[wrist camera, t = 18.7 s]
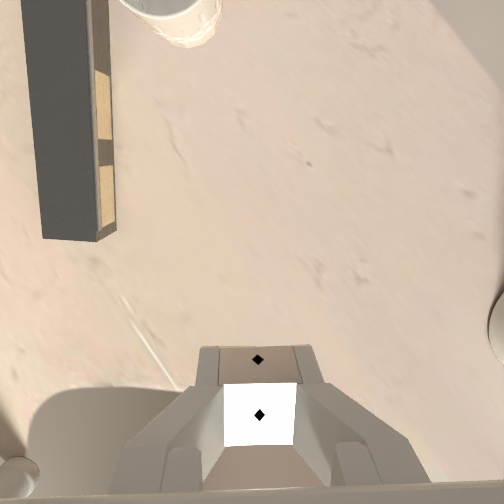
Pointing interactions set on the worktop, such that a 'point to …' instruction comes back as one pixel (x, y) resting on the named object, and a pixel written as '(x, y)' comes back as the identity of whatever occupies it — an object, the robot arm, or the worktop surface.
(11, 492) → the bottle
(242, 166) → the worktop surface
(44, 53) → the long dark grey beam
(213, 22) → the white cup
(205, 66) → the worktop surface
